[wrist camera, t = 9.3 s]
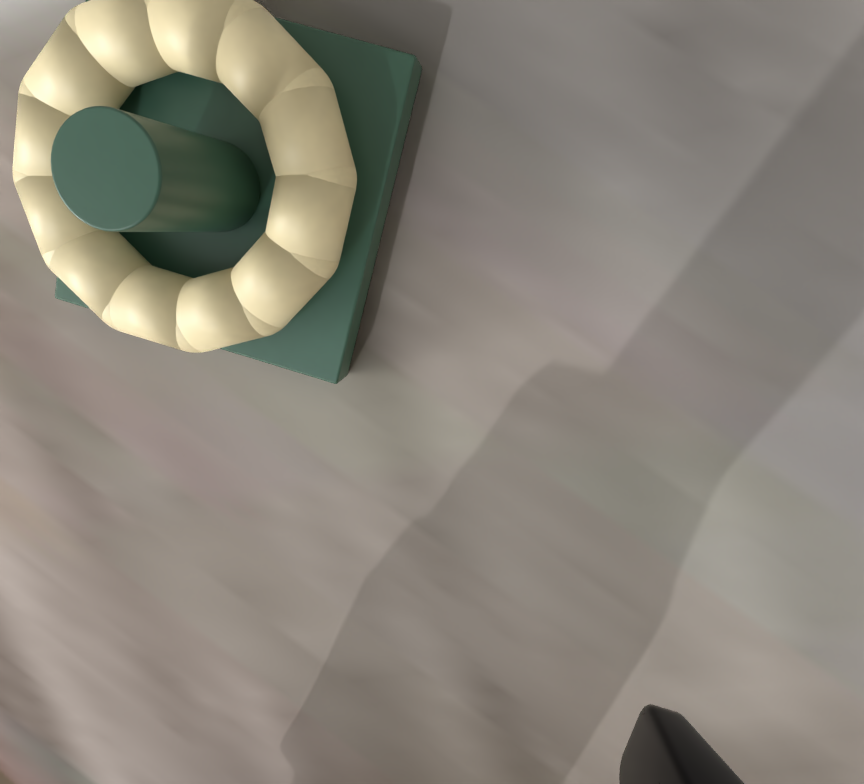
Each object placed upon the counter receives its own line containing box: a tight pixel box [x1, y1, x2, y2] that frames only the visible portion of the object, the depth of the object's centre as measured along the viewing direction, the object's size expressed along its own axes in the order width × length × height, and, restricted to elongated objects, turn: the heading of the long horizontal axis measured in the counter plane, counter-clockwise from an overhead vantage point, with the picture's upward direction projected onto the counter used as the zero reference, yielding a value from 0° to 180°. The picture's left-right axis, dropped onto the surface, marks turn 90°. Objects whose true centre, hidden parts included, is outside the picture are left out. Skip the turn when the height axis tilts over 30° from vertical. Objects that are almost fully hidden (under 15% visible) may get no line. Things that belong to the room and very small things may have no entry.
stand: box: [51, 0, 422, 384], centre depth 16 cm, size 9×9×6 cm
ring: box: [13, 0, 357, 353], centre depth 16 cm, size 9×9×2 cm
